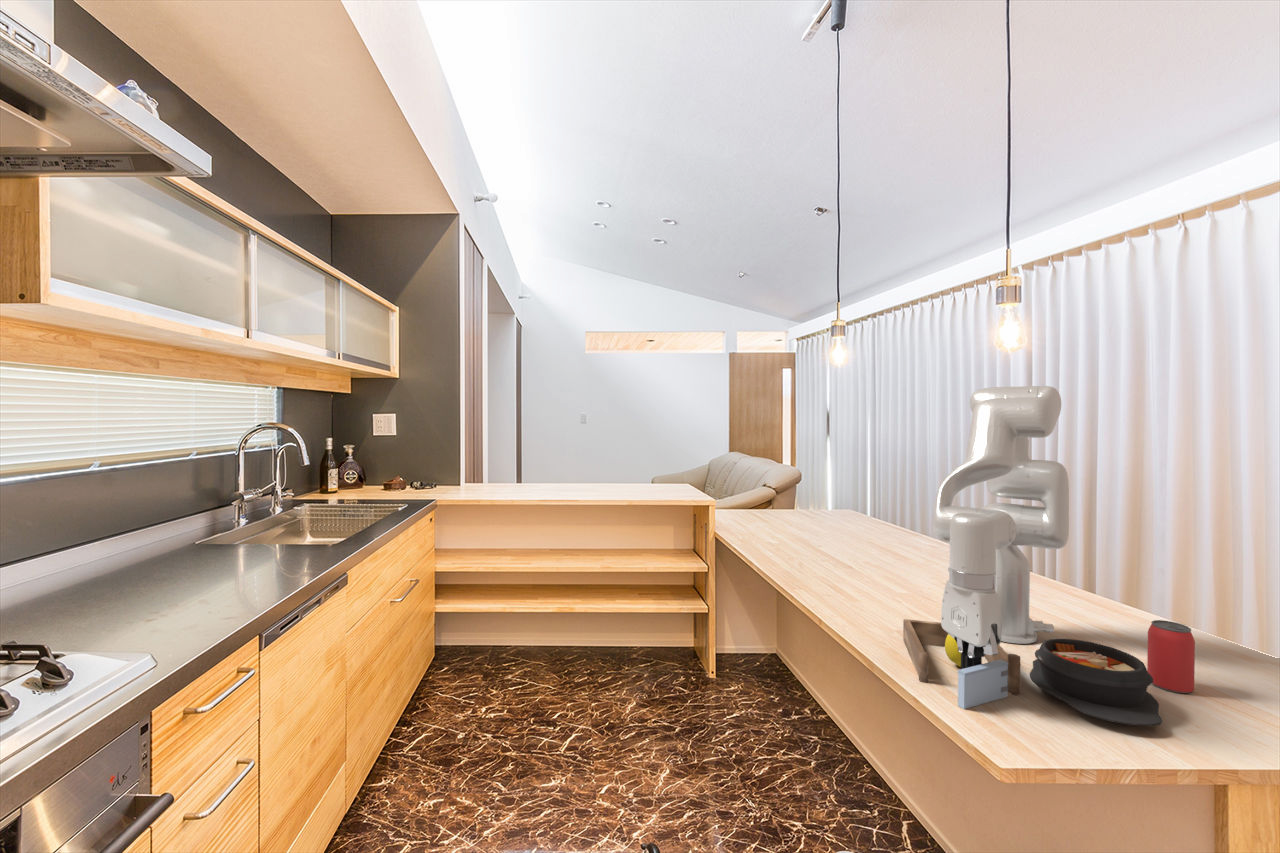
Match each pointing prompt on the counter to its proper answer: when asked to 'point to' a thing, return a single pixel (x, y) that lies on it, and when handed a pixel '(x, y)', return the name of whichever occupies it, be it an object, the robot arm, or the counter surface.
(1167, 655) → the beer can
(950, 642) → the lemon
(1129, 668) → the casserole
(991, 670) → the gate
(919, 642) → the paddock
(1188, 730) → the counter surface
